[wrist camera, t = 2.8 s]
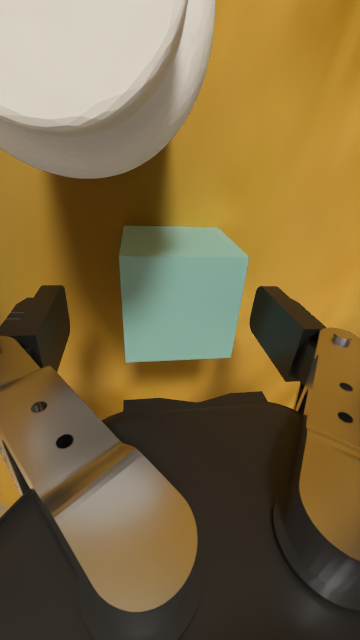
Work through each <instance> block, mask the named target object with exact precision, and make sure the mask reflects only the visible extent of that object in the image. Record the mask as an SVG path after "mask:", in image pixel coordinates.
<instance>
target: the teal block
mask: <svg viewBox="0 0 360 640" xmlns="http://www.w3.org/2000/svg"><path fill="white" fill-rule="evenodd" d="M248 261H249V256H248V255H246V254H245V253H244V252H243V251H242V250H241V249H240V248H239V247H238V246H237V245H236V244H235V243H234V242H233V241H232V240H231V239H230V238H229V237H228V236H227V235H226V234H224V233H223V232H222V231H221V230H220V229H219V228H218V227H173V226H124V228H123V234H122V240H121V246H120V252H119V267H120V282H121V298H122V313H123V329H124V344H125V360H126V363H127V362H149V361H170V360H192V359H213V358H231V355H232V349H233V344H234V338H235V333H236V327H237V322H238V316H239V311H240V305H241V300H242V294H243V289H244V283H245V278H246V272H247V267H248Z"/></svg>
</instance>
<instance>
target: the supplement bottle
mask: <svg viewBox="0 0 360 640" xmlns="http://www.w3.org/2000/svg"><path fill="white" fill-rule="evenodd" d="M214 20H215V0H0V148H1V149H2V150H4V151H5V152H7V153H9V154H10V155H12V156H13V157H15V158H17V159H19V160H20V161H22V162H24V163H26V164H28V165H30V166H33V167H35V168H38V169H40V170H43V171H46V172H49V173H52V174H56V175H60V176H65V177H70V178H81V179H97V178H105V177H111V176H115V175H119V174H122V173H125V172H128V171H130V170H132V169H134V168H136V167H138V166H140V165H142V164H143V163H145V162H146V161H148V160H150V159H151V158H152V157H154V156H155V155H156V154H157V153H158V152H160V151H161V150H162V149H163V148H164V147H165V146H166V145H167V144H168V143H169V142H170V140H171V139H172V138H173V137H174V136H175V134H176V133H177V132H178V130H179V129H180V128H181V126H182V125H183V123H184V122H185V120H186V118H187V117H188V115H189V113H190V111H191V109H192V107H193V105H194V103H195V101H196V99H197V97H198V94H199V91H200V89H201V86H202V83H203V80H204V77H205V73H206V69H207V65H208V61H209V56H210V52H211V47H212V39H213V31H214Z"/></svg>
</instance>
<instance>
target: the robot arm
mask: <svg viewBox="0 0 360 640" xmlns="http://www.w3.org/2000/svg"><path fill="white" fill-rule="evenodd" d="M250 328H251V331H252V333H253V334H254V336H255V337H256V339H257V340H258V342H259V343H260V345H261V346H262V348H263V349H264V351H265V352H266V354H267V355H268V356H269V358H270V359H271V361H272V362H273V364H274V365H275V367H276V368H277V370H278V371H279V373H280V374H281V376H282V377H283V379H284V380H285V382H291V381H300V382H301V383H300V385H299V388H298V391H297V395H296V399H295V403H294V407H293V409H291V408H288V407H286V406H283V405H280V404H276V403H271V402H268V401H267V400H266V398H265V396H264V394H263V392H262V391H261V392H245V393H230V394H227V395H223V396H220V397H216V398H213V399H210V400H206V401H203V402H198V403H194V402H186V401H179V400H171V399H164V398H152V399H136V400H124V409H123V412H120V413H117V414H115V415H112V416H110V417H107V418H105V419H103V420H102V421H101V420H100V419H99V418H98V417H97V415H96V414H95V413H94V412H93V411H92V410H91V409H90V408H89V407H88V406H87V405H86V404H85V402H84V401H83V400H82V399H81V398H80V397H79V396H78V395H77V394H76V393H75V392H74V391H73V390H72V388H71V387H70V386H69V385H68V384H67V383H66V382H65V381H64V380H63V379H62V378H61V377H60V375H59V374H58V373H57V371H58V368H59V365H60V362H61V359H62V356H63V353H64V350H65V346H66V343H67V340H68V337H69V333H70V320H69V314H68V307H67V300H66V294H65V289H64V287H63V286H62V285H42V286H41V287H40V289H39V290H38V292H37V293H36V295H35V296H34V298H26V299H25V300H23V301H21V302H20V303H18V304H17V305H16V306H15V307H14V309H13V310H12V311H11V313H10V314H9V315H8V317H7V319H5V321H4V322H3V323H2V325H1V326H0V454H1V456H2V458H3V460H4V462H5V463H6V465H7V467H8V469H9V471H10V473H11V475H12V477H13V479H14V482H15V484H16V486H17V488H18V490H19V493H20V495H21V497H20V498H19V499H18V500H17V501H16V502H15V503H14V504H13V505H12V506H11V507H10V508H9V510H7V511H6V513H5V514H4V515H3V516H2V517H1V518H0V640H360V338H359V337H358V336H356V335H354V334H352V333H350V332H348V331H345V330H342V329H338V328H326V327H325V326H324V325H323V324H322V323H321V322H320V321H318V320H317V319H316V318H315V317H314V316H313V315H311V313H310V312H308V311H307V310H305V308H304V307H303V306H302V305H301V304H299V303H298V302H296V301H294V300H293V299H291V298H289V297H288V296H287V295H286V294H285V293H284V292H283V291H282V290H280V289H279V288H278V287H277V286H260V287H258V289H257V291H256V294H255V298H254V303H253V307H252V312H251V316H250Z"/></svg>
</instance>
